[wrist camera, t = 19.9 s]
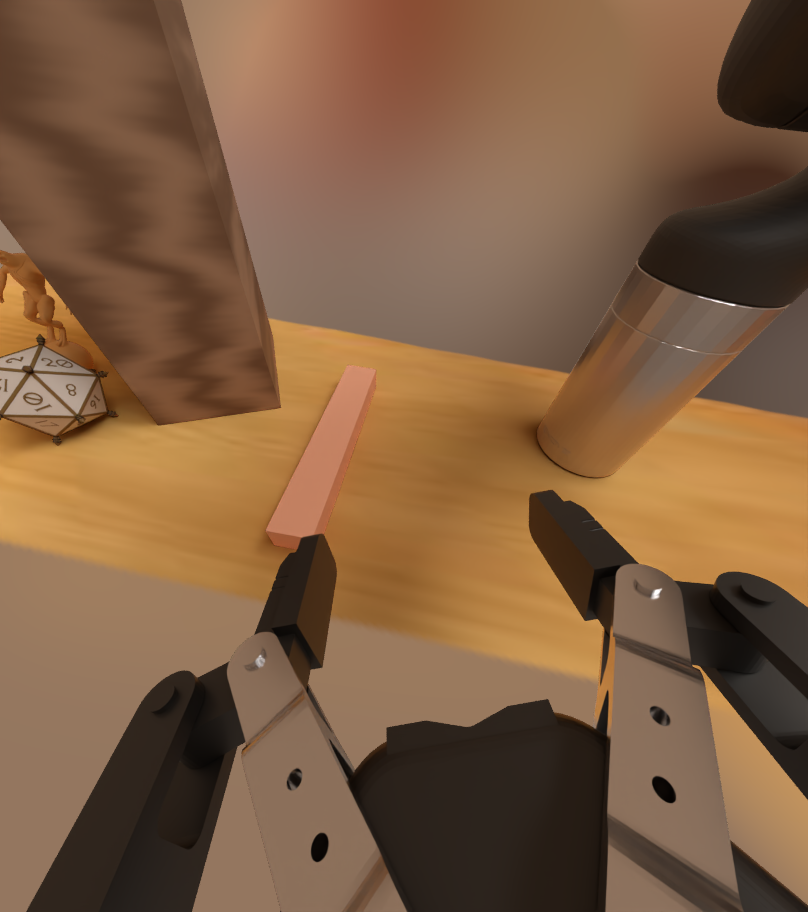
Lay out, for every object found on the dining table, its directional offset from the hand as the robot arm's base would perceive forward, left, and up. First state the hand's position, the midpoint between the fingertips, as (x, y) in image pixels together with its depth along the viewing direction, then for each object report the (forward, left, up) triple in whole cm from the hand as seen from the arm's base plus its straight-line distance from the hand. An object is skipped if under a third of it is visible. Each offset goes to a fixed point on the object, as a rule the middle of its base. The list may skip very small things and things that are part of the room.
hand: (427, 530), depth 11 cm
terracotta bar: (+2, -17, -13) cm, 21 cm away
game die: (+26, -26, -13) cm, 39 cm away
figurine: (+28, -36, -13) cm, 47 cm away
